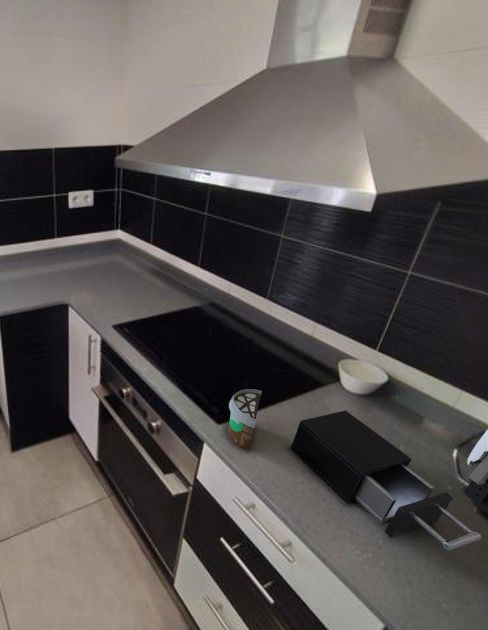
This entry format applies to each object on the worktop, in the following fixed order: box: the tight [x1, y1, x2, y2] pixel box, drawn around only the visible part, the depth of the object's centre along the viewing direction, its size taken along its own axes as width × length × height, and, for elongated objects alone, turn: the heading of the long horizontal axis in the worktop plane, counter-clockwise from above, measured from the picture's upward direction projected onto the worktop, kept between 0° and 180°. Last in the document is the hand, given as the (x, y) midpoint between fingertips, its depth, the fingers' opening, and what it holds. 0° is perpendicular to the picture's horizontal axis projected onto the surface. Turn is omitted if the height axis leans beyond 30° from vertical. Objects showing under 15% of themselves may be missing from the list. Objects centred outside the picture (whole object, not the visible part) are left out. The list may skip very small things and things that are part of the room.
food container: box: [227, 388, 263, 451], centre depth 90 cm, size 12×6×10 cm, turn 150°
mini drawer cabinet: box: [290, 410, 412, 504], centre depth 81 cm, size 15×13×9 cm
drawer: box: [353, 464, 482, 552], centre depth 71 cm, size 20×11×7 cm, turn 15°
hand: (478, 500), depth 60 cm, fingers closed
